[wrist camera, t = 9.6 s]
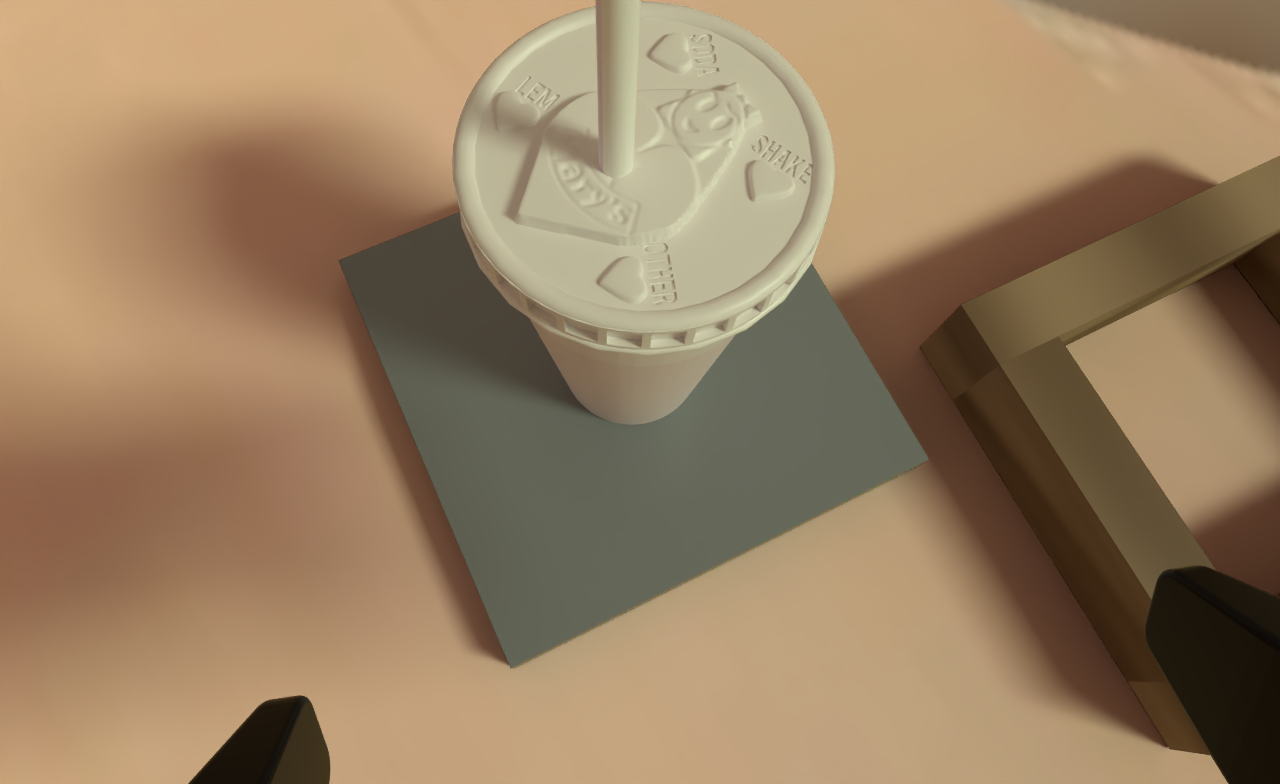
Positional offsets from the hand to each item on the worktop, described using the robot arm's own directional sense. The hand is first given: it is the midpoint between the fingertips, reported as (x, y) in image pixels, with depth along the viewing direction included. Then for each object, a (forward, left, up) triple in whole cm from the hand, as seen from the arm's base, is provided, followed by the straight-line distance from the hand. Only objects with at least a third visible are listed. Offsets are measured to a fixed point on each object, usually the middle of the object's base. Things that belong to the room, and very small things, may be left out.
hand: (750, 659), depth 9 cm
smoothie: (+3, +7, -13) cm, 15 cm away
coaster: (+3, +8, -13) cm, 16 cm away
